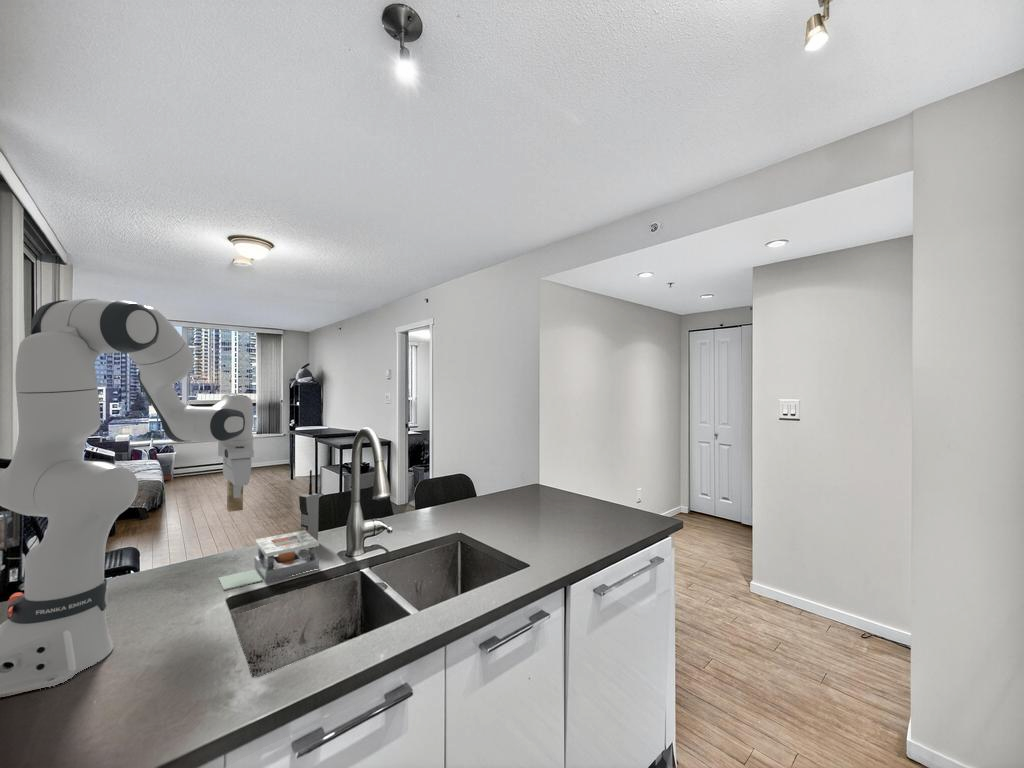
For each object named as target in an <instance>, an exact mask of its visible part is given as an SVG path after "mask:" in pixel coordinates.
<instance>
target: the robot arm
mask: <svg viewBox="0 0 1024 768" xmlns="http://www.w3.org/2000/svg"><path fill="white" fill-rule="evenodd" d="M30 325H31V327H30V328H31V329H30V335H28V336H26V337H24V338H23V339H22V341H20V343H19V346H18V350H17V355H16V361H15V363H16V364H15V373H14V374H15V379H14V380H15V381H14V383H15V394H16V405H17V406H16V407H17V418H18V419H17V420H18V437H17V438H18V439H17V442H16V447H15V450H14V454H13V456H12V459H11V461H10V463H9V465H8V467H6V468H5V469H4V470H3V471H1V472H0V507H1V508H4V509H7V510H9V511H12V512H13V513H16V514H20V515H23V516H30V517H40V518H41V517H44V518H47V521H48V522H47V527H46V530H45V533H44V536H43V538H42V539H41V541H40V542H39V543H37V544H35V545H34V546H33V547H32V548H31V549H30V550H29V551H28V552H27V554H26V556H25V559H24V592H14V593H13V594H11V595H10V596H9V599H8V601H7V611H6V612H7V613H6V614H7V619H6V620H5V621H3V623H1V624H0V695H1V694H5V693H11V692H17V691H25V690H30V689H34V688H39V687H44V686H49V685H54V684H59V683H63V682H64V681H67V680H68V679H70V678H71V677H72V676H74V675H75V674H77V673H78V672H79V673H81V672H83V671H85V670H86V668H87V669H88V667H89V668H90V666H91V667H92V666H94V665H96V664H98V663H99V662H101V661H102V660H104V659H105V658H106V657H108V656H109V654H111V652H112V651H113V649H114V642H113V640H112V637H111V634H110V631H109V627H108V623H107V616H106V608H107V604H108V593H109V592H108V588H109V586H108V581H107V578H105V562H106V561H105V559H106V547H107V541H108V537H109V534H110V531H111V529H112V527H113V525H114V523H115V522H116V520H117V519H118V517H119V516H120V515H121V514H122V513H124V512H126V510H128V509H129V508H130V507H131V505H132V504H133V503H134V502H135V500H136V497H137V495H138V492H139V491H138V490H139V481H138V478H137V476H136V475H135V473H134V472H133V471H132V470H130V469H129V468H126V467H123V466H120V465H118V464H114V463H111V462H108V461H98V460H97V461H96V460H95V461H93V460H84V458H83V457H84V456H83V454H84V450H85V446H86V444H87V443H86V442H87V440H88V439H89V438H90V436H92V435H94V434H95V433H97V431H98V430H99V429H100V426H101V410H100V409H101V408H100V398H99V397H100V396H99V387H98V386H99V385H98V378H97V372H96V367H95V364H96V361H97V358H98V356H99V355H101V354H115V353H116V354H117V353H118V354H119V353H124V354H126V353H127V354H126V355H127V356H129V357H130V360H132V362H133V363H134V364H135V366H136V367H137V369H138V372H137V380H138V382H139V385H140V387H141V389H142V391H143V393H144V395H146V397H147V399H148V401H149V403H150V404H151V406H152V408H153V409H154V411H155V412H156V414H157V415H158V417H159V420H160V422H161V426H162V430H163V432H164V434H165V435H166V436H167V438H168V439H170V440H171V441H172V442H176V443H183V442H184V443H185V442H186V443H187V442H205V443H206V442H213V443H214V442H215V443H216V442H218V447H217V448H218V449H217V450H218V451H217V452H218V453H217V456H218V457H222V463H223V464H222V473H223V474H222V475H223V476H224V477H225V478H226V479H228V480H229V481H230V482H231V483H232V484H233V497H234V498H239V497H240V496H241V489H242V485H243V486H248V485H249V484H250V480H251V472H252V459H253V458H254V457H255V451H254V435H253V427H254V424H255V423H254V418H255V417H254V416H255V415H254V407H253V401H252V399H251V398H250V397H249V396H247V395H243V394H237V393H234V394H233V393H227V394H223V395H222V396H221V399H220V401H218V402H217V403H215V404H213V405H212V406H194V405H193V406H192V405H190V404H186V403H184V402H182V400H181V399H180V396H179V395H178V393H177V391H176V390H175V388H174V386H173V385H175V384H176V383H178V382H180V381H182V380H183V379H184V378H185V377H187V375H189V373H190V372H191V371H192V369H193V366H194V363H195V358H194V355H193V352H192V350H191V348H190V347H189V345H188V344H187V342H186V341H185V339H184V338H183V336H182V335H181V333H180V332H179V331H178V330H177V328H176V327H175V326H174V325H173V324H172V323H171V322H170V321H169V319H168V318H167V317H166V316H164V314H162V313H161V312H160V311H159V310H158V309H156V308H154V307H152V306H149V305H147V306H146V305H142V304H139V303H137V302H133V301H128V300H108V299H99V298H98V299H97V298H81V299H72V300H71V299H69V300H68V299H62V300H61V299H60V300H55V301H52V302H50V301H49V302H48V303H45V304H43V305H41V306H40V307H38V309H37V310H36V311H35V313H34V314H33V316H32V319H31V323H30ZM97 662H98V663H97ZM84 669H85V670H84ZM82 670H83V671H82ZM80 671H81V672H80ZM79 673H78V674H79ZM78 674H77V675H78ZM75 676H76V675H75ZM75 676H74V677H75ZM71 679H72V678H71ZM71 679H70V680H71ZM67 682H68V681H67ZM63 684H64V683H63Z"/></svg>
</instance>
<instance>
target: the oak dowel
mask: <svg viewBox="0 0 1024 768" xmlns="http://www.w3.org/2000/svg"><path fill="white" fill-rule="evenodd" d="M226 479H227V478H226ZM226 483H227V485H226V486H227V487H226V510H227V511H228V512H229V513H230V512H238V511H243V509H244V485H242V489H241V496H240V497H239V498H234V497H233V484H232V483H231V482H230V481H229V480H228V479H227V482H226Z"/></svg>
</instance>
